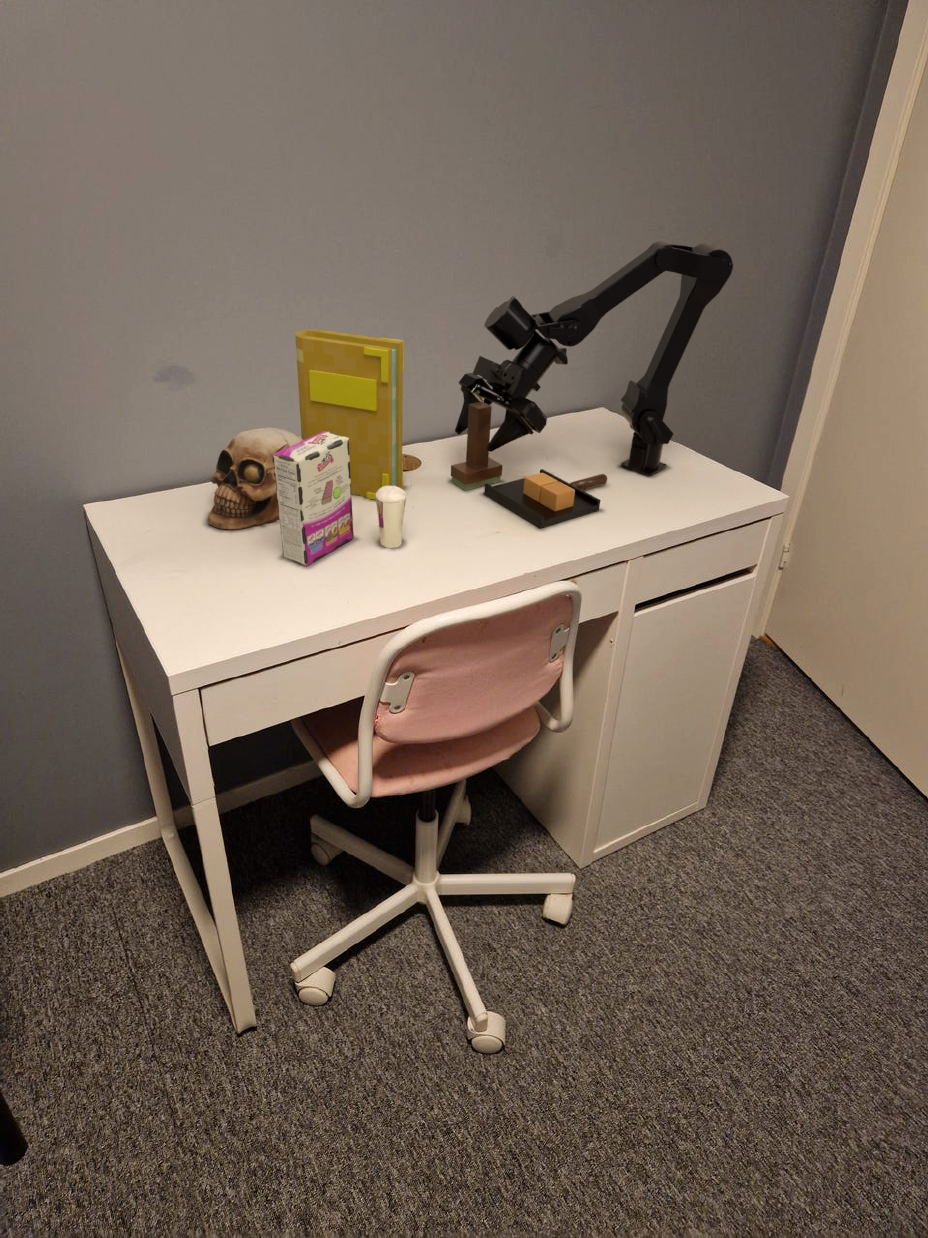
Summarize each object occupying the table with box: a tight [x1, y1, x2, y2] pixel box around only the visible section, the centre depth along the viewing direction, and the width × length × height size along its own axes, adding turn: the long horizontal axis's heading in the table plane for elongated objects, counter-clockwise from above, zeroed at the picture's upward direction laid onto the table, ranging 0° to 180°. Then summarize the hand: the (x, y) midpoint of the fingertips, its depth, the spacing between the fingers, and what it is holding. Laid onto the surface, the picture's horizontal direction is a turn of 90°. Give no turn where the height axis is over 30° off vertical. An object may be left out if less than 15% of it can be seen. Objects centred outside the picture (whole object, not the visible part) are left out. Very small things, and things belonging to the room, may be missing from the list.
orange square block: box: [540, 482, 575, 511], centre depth 141 cm, size 4×4×3 cm
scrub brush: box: [450, 402, 503, 491], centre depth 147 cm, size 8×4×14 cm, turn 126°
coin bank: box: [207, 427, 303, 530], centre depth 136 cm, size 16×17×13 cm
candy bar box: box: [273, 431, 355, 567], centre depth 123 cm, size 11×5×16 cm, turn 148°
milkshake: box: [375, 485, 412, 549], centre depth 127 cm, size 4×5×10 cm
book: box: [295, 328, 405, 501], centre depth 140 cm, size 17×7×25 cm, turn 71°
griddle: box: [483, 468, 608, 529], centre depth 147 cm, size 22×15×2 cm
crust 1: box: [523, 472, 558, 502], centre depth 144 cm, size 4×4×3 cm
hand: (472, 441), depth 146 cm, fingers open, 9 cm apart
